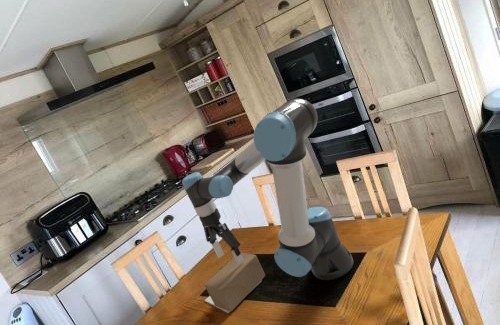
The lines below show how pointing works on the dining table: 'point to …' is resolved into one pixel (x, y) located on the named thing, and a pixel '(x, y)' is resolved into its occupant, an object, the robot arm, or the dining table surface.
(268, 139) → the robot arm
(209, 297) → the grey mat
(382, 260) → the dining table surface
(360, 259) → the dining table surface
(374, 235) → the dining table surface
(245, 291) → the wooden block
